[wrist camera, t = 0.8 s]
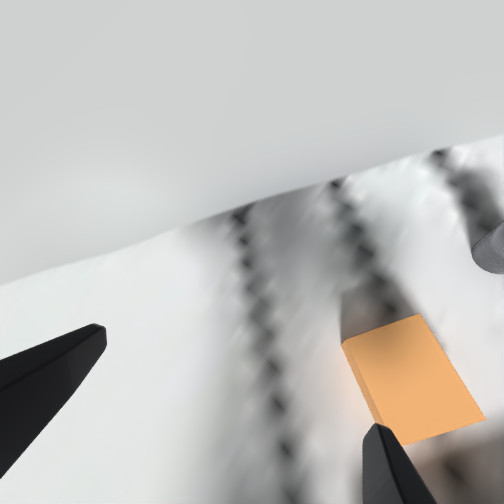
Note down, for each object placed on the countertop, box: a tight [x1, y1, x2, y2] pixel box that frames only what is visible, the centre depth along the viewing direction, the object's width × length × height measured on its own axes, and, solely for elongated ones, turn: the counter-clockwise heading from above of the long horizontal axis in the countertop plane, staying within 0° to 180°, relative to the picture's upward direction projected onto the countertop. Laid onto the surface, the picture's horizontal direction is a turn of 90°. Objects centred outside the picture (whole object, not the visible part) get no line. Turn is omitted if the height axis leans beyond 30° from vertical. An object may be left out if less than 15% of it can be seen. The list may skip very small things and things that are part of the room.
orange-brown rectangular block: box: [341, 313, 486, 446], centre depth 17 cm, size 6×5×4 cm
